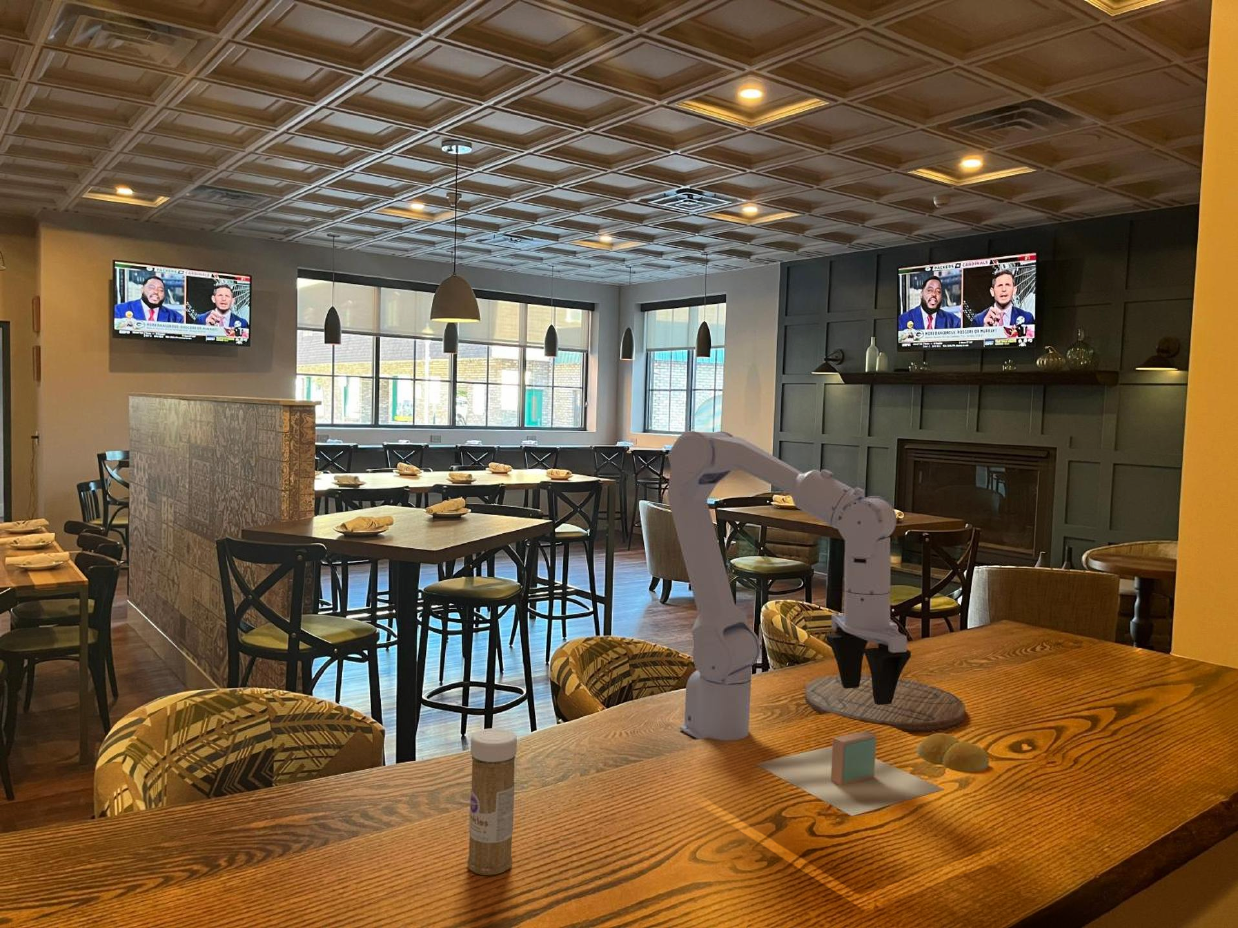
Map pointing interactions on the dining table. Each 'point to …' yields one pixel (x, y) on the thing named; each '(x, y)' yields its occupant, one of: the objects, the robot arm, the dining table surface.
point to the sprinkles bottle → (492, 801)
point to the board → (854, 797)
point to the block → (853, 757)
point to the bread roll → (952, 753)
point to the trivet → (908, 711)
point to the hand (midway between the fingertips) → (866, 695)
